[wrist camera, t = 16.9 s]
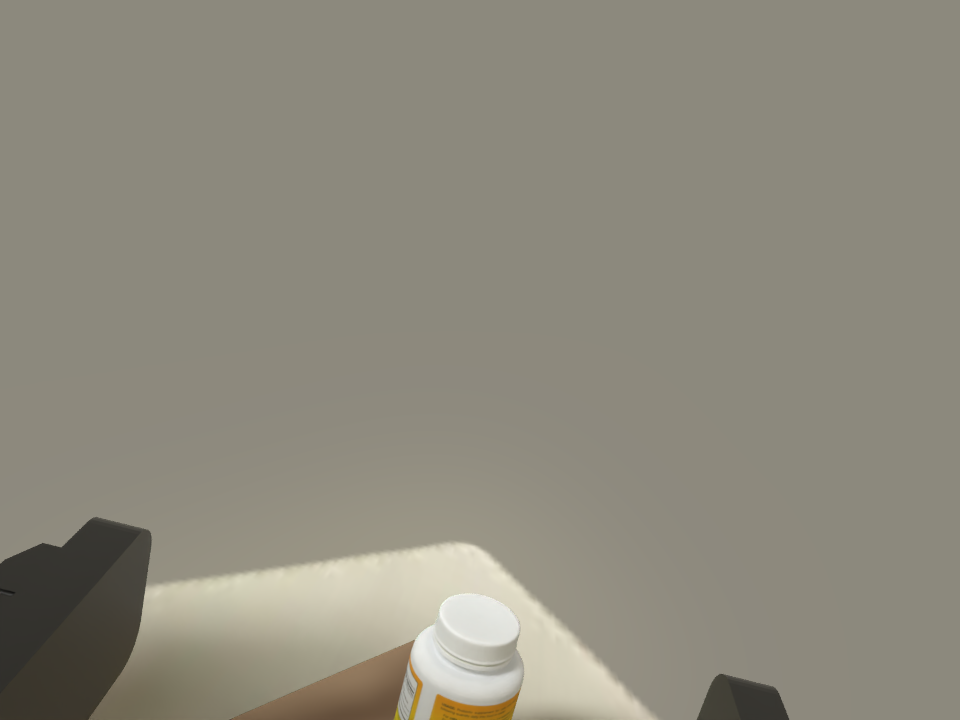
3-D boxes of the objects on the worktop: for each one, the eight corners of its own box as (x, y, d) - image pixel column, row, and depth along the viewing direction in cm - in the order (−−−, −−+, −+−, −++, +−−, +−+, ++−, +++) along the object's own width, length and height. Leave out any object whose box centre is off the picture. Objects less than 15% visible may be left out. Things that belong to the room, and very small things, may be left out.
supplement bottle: (508, 799, 45) (561, 633, 42) (429, 850, 41) (481, 672, 37) (436, 729, 48) (480, 571, 45) (356, 770, 44) (399, 600, 41)
